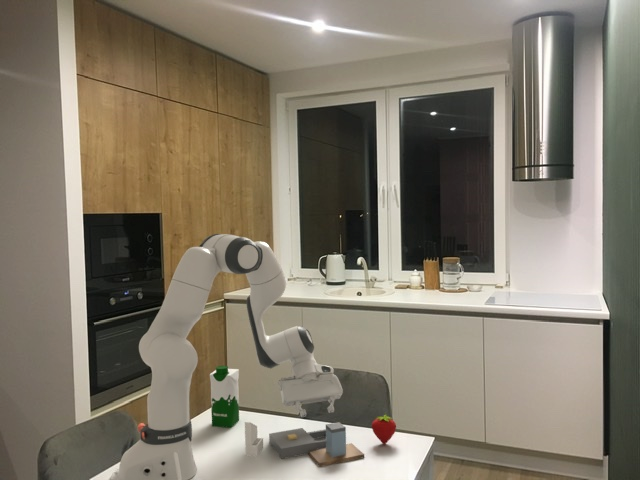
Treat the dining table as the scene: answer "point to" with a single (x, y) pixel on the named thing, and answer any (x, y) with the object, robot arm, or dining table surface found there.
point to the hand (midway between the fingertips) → (318, 413)
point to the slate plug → (335, 439)
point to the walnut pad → (325, 459)
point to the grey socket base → (296, 442)
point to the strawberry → (384, 428)
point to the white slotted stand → (252, 440)
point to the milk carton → (224, 397)
